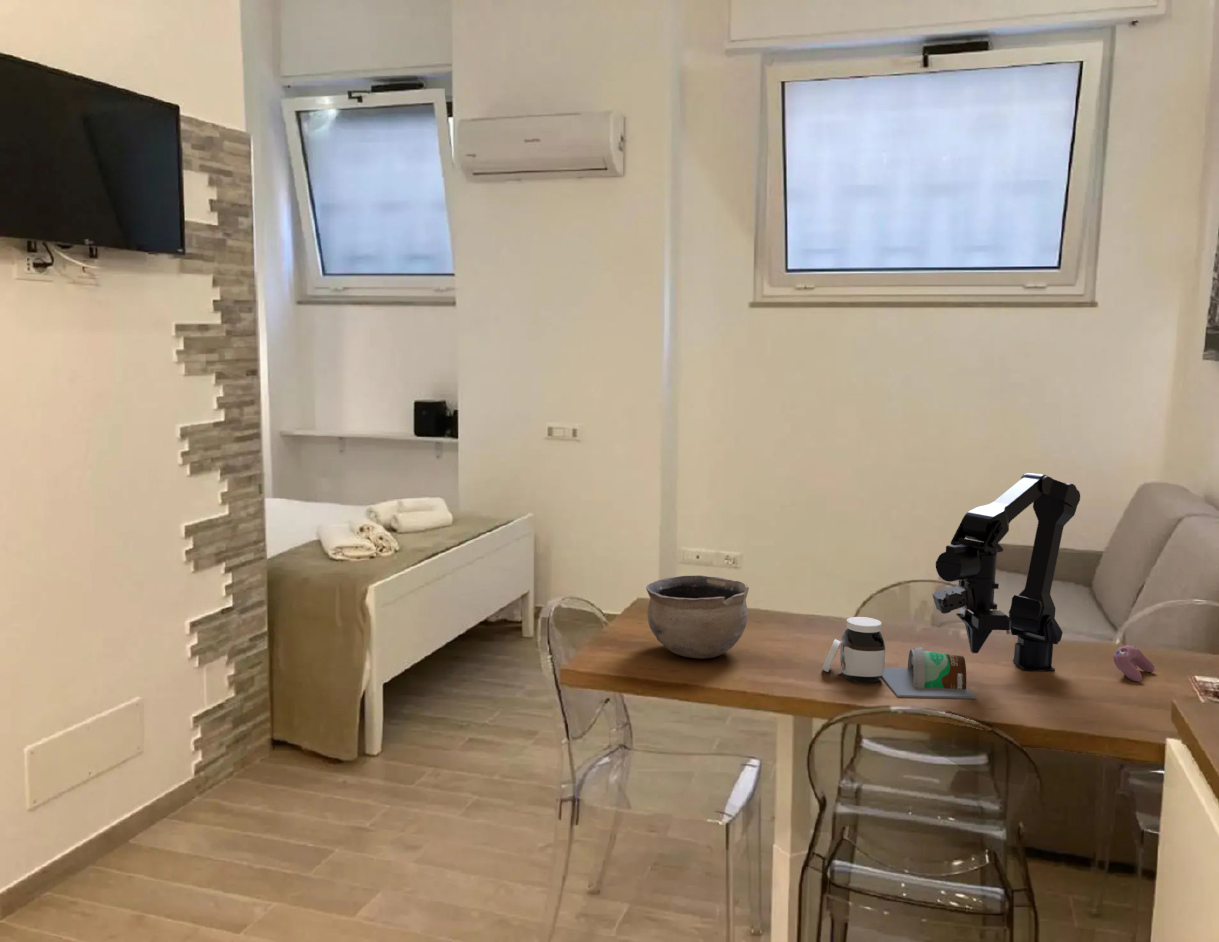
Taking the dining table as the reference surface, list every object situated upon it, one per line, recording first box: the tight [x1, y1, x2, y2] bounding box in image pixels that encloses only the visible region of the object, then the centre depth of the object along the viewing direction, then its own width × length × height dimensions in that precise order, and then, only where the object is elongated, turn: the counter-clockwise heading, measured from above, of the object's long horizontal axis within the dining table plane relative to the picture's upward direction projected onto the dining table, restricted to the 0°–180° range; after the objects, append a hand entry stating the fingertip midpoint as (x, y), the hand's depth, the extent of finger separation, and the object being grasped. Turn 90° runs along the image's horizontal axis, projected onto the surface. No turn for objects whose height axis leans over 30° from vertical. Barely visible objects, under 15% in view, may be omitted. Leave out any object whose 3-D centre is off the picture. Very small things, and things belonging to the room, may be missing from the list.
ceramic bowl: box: [645, 575, 750, 659], centre depth 210 cm, size 22×22×15 cm
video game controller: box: [1113, 644, 1155, 683], centre depth 202 cm, size 10×5×7 cm, turn 135°
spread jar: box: [821, 616, 886, 684], centre depth 197 cm, size 12×11×12 cm
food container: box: [907, 646, 967, 689], centre depth 195 cm, size 12×6×10 cm
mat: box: [881, 667, 977, 700], centre depth 194 cm, size 15×16×1 cm
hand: (974, 652), depth 193 cm, fingers closed
